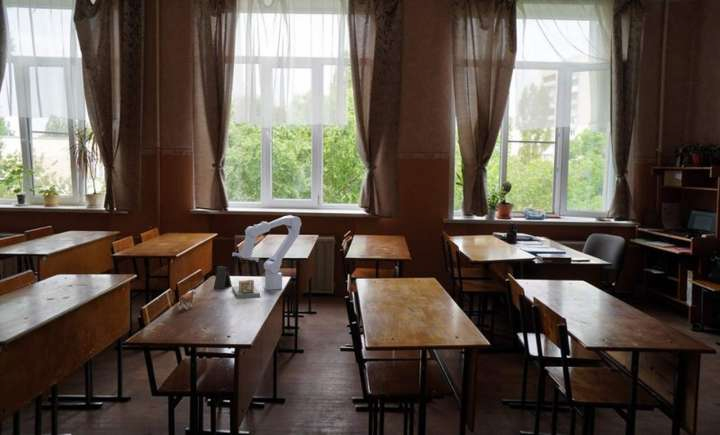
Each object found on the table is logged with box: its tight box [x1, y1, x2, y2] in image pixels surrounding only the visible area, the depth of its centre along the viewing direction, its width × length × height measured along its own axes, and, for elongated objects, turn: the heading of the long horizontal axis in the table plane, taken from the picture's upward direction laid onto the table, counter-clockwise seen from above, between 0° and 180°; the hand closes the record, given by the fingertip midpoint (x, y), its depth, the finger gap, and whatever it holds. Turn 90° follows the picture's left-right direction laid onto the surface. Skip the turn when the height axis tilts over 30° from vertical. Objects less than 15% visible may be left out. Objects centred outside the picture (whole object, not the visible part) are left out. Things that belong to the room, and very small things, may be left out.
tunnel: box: [238, 279, 255, 291], centre depth 315 cm, size 8×3×5 cm, turn 110°
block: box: [242, 282, 251, 292], centre depth 317 cm, size 4×10×4 cm, turn 20°
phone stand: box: [213, 265, 233, 290], centre depth 331 cm, size 9×6×12 cm, turn 156°
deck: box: [231, 285, 261, 299], centre depth 317 cm, size 12×20×2 cm, turn 20°
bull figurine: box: [178, 289, 198, 311], centre depth 284 cm, size 4×13×8 cm, turn 164°
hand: (241, 271), depth 321 cm, fingers open, 7 cm apart
